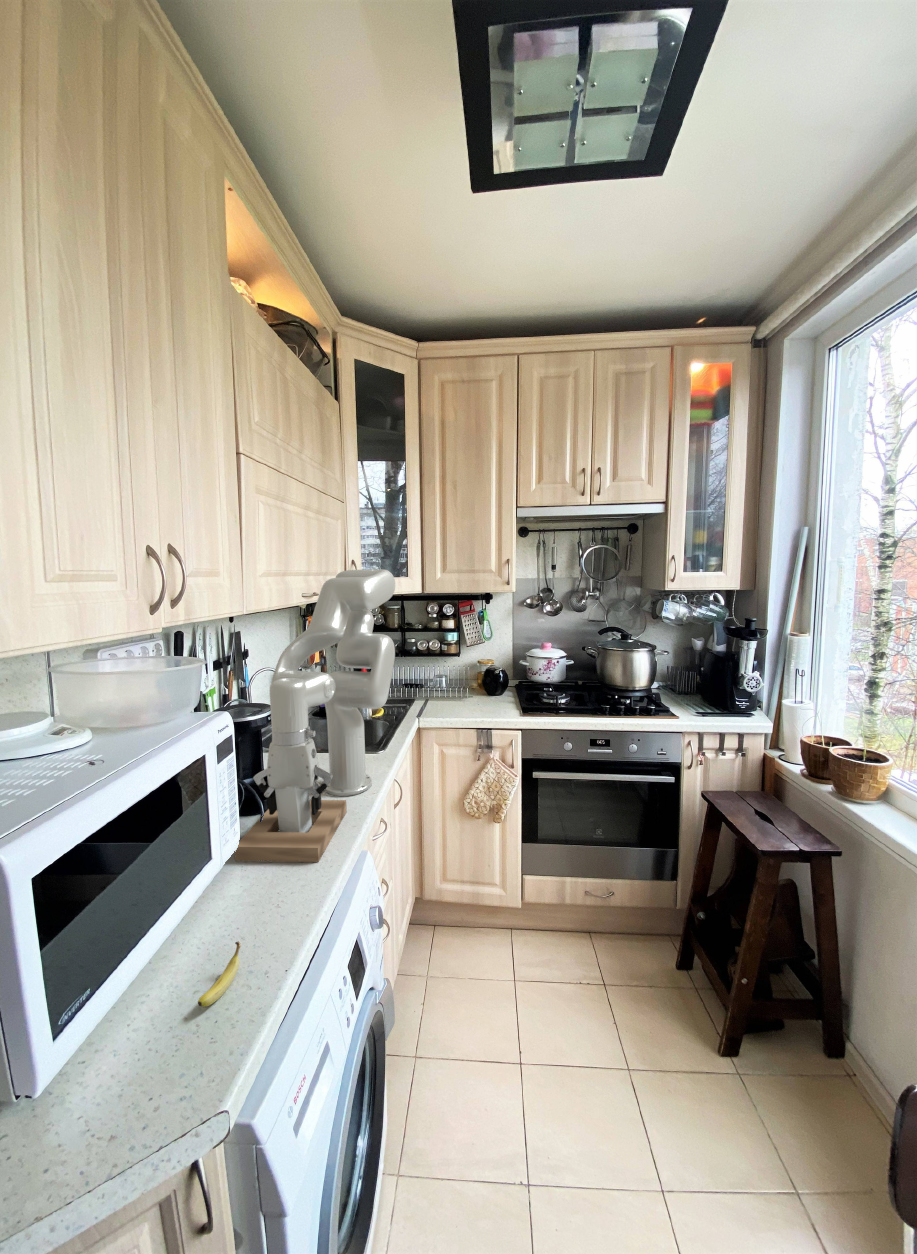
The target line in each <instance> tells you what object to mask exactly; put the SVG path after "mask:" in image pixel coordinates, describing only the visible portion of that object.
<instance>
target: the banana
mask: <svg viewBox="0 0 917 1254" xmlns="http://www.w3.org/2000/svg"><path fill="white" fill-rule="evenodd" d="M241 944H242V943H241V942H240V941H237V942H235V945H236V948H235V949H236V950H235V952H234V954H233V955H232V958H231V959H230V960H229V962H228V963H227V965H226V967H225V969H224V970H223V972H222V974H221V975H220V976H219V977H218V979H217V980H216V981H215V982H214V984H212V986H211V987H210V988H209V989H208V990H207V991H206V992H205V993H203V994H202V995H201V996H200V997H199V999H198V1000H197V1004H198V1006H200V1007H203V1008H204V1007H208V1006H211V1005H213V1004H214V1003H216V1001H218V1000H219V999H220V998H221V997H222V995H224V994H225V993H226V991H227V990H228V989H229V988H230V986H231V984H232V983H233V981H234V979H235V978H236V975H237V973H238V971H239V967H240V958H239V952H240V950H241V947H242V945H241Z"/></svg>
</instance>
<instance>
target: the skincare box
mask: <svg viewBox="0 0 917 1254" xmlns="http://www.w3.org/2000/svg"><path fill="white" fill-rule="evenodd" d="M275 794H276V804H277V814H278V823H279V831H278V832H300V833H308V832H309V831H310V829H311V828H312V826H313V824H312V820H311V809H310V800H311V797H310V791H309V790H308V789H299V787H298V786H286V788H284V789H275Z"/></svg>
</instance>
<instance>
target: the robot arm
mask: <svg viewBox="0 0 917 1254" xmlns="http://www.w3.org/2000/svg"><path fill="white" fill-rule="evenodd" d="M395 591H396V579H395V576H394V575H393V573H392V572H390V571H389V570H388V569H382V568H381V569H346V570H343V571H340V572H338V573H337V574H336V576H335V577H332V578H329V579H327V580H326V581H325V582H324V583H323V585H322V587H321V590H320V592H319V595H318V598H317V600H316V604H315V607H314V610H313V613H312V615H311V619H310V622H309V625H308V627H307V629H306V630H304V631H303V632H301V633H300V634H299V635H298V636H297V637H296V638H294V639H293V640H292V641H291V643H289V644H288V645H287V646H286V647H285V648H284V650H283V651H282V653H281V654H280V656H279V658H278V660H277V664H276V666H275V668H274V671H273V675H272V678H271V679H272V680H271V684H270V686H269V705H270V717H271V718H270V720H271V721H270V722H271V742H270V744H269V747H268V753H267V754H268V755H267V767H266V768H264V769H263V770H261V771H259V772H258V773H256V774H254V776H253V780H254V782H255V783H256V785H257V786H258V789H259V790H260V791H261V792H262V793H263V796H264V797H265V798H266V802H267V804H266V805H267V810H268V809H269V814H270V815H273V814H274V813H275V812H276V810H277V804H276V794H275V789H284V788H286V786H298V787H299V789H308V790H309V794H310V795H312V796H311V797H310V800H311V809H312V815H316V813H317V812H318V810H319V809H320V808H321V800H322V793H324V792H325V793H327V794H329V795H332V796H336V797H337V796H338V797H345V796H346V797H349V796H354V795H358V794H361V793H364V792H366V791H367V790H369V789H370V787H371V786H373V785H372V784H373V782H372V781H373V779H372V777H371V776H370V775H368V774H366V771H367V770H366V769H367V768H366V744H365V739H366V738H365V721H364V717H363V715H362V713H361V711H360V710H359V709H365V710H366V709H367V710H370V709H371V710H379V709H381V708H383V707H384V706H385V704H386V702H387V700H388V698H389V694H390V689H391V688H390V687H391V682H392V677H393V670H394V666H395V665H394V664H395V660H396V659H395V658H396V648H395V647H396V646H395V643H394V641H393V639H392V638H391V636H389V635H386V634H382V633H373V630H374V624H375V618H374V615H373V613H372V611H373V610H375V609H376V608H378V607H380V606H382V605H383V604H384V603H387V602H388V601H389V600H390V599H391V598H392V597H393V595H394V593H395ZM336 644H337V647H336V654H335V659H336V662H337V663H338V664H339V665H340V666H342V667H345V668H350V669H369V670H370V669H371V670H370V671H359V670H358V671H357V670H338V671H336V670H335V671H333V672H330V673H326V672H321V671H307V670H299V668H300V667H301V665H303V663H304V662H305V661H306V660H307V659H308V658H310V657H311V656H312V655H314V654H316V653H318V652H321V651H323V650H325V649H327V648H329V647H332V646H334V645H336ZM322 705H324V707H325V713H326V722H327V744H328V746H327V747H328V762H329V763H328V766H329V767H328V768H329V772H328V771H327V770H324V769H323V768H321V767H319V766H320V765H319V759H318V754H317V748H316V744H315V742H314V739H313V738H315V737H316V730H312V729H311V727H310V723H309V708H313V707H316V706H322ZM265 777H267V778H266V779H267V781H265V779H264V778H265ZM319 779H322V780H323V782H322V783H321V784H320V783H319V782H318V780H319Z"/></svg>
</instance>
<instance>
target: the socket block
mask: <svg viewBox="0 0 917 1254" xmlns="http://www.w3.org/2000/svg"><path fill="white" fill-rule="evenodd" d="M310 809H311V799H310ZM347 812H348V810H347V800H346V799H321V808H320V809H319V810H318V812H317V813H316V815H312V809H311V820H312V828H311V829H310V831H309V832H308V833H300V832H279V823H278V814H277V810H276V812H275V813H274V814H273V815H270V814H269V809H268V808H267V810H266V811H265V812H264V813H263V814H264V816H263V815H262V816H263V820H262V822H260V818H259V819H258V820H257V821H256V822H255V823H254V824H253V825H252V826H251V828H250V829H249V830H248V831H247V832H246V833H245V834H244V835H243V836H242V838H241V839H240V840H239V841H240V843H239V845H238V848H237V850H236V852H235V851H234V860H235V862H282V863H285V862H289V863H290V862H291V863H298V862H299V863H319V862H320V861H321V859H322V857H323V855H324V854H325V851H326V850H327V849H328V846H329V844H330V842H331V840H332V839H333V837H334V836H335V833H336V832H337V830H338V828H339V826H340V825H341V823H342V821H343V819H344V818H345V816H346V814H347Z"/></svg>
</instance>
